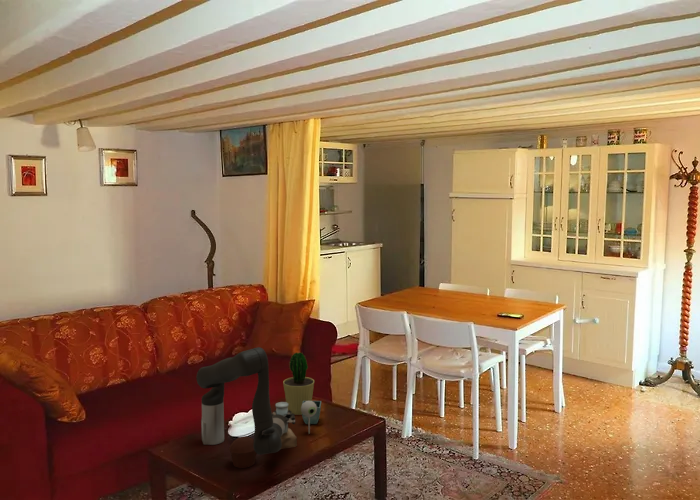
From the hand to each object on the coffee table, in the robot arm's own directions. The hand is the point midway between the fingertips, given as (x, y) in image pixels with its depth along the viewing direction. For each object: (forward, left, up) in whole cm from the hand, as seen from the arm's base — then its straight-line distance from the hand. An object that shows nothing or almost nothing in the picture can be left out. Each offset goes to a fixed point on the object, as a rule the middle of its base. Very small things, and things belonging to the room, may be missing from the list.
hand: (283, 412), depth 252 cm
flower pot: (+18, +16, -13) cm, 27 cm away
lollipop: (+13, +4, -13) cm, 19 cm away
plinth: (-1, -2, -13) cm, 13 cm away
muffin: (-20, -14, -13) cm, 28 cm away
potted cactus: (+17, +33, -13) cm, 39 cm away
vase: (-1, -2, -7) cm, 8 cm away
